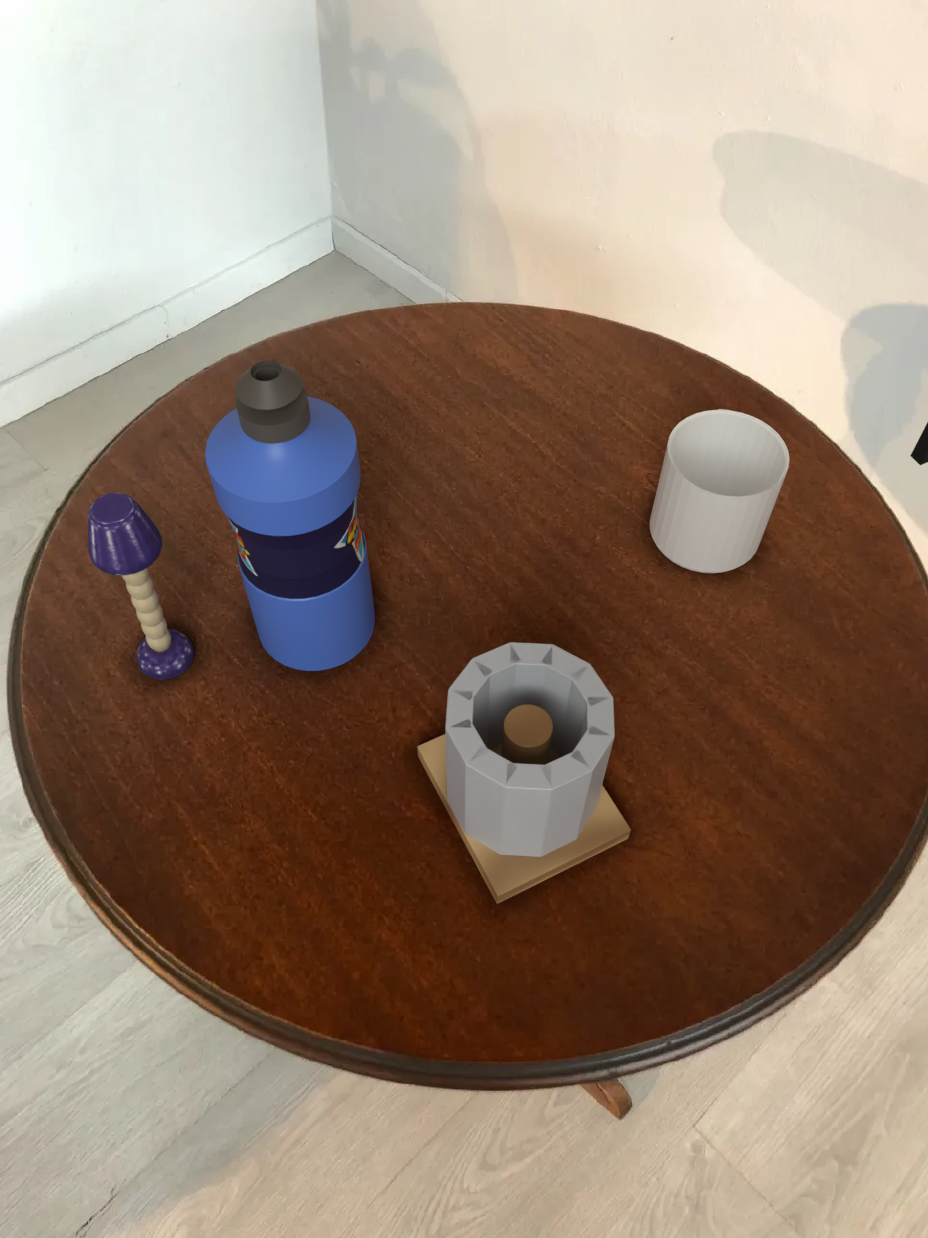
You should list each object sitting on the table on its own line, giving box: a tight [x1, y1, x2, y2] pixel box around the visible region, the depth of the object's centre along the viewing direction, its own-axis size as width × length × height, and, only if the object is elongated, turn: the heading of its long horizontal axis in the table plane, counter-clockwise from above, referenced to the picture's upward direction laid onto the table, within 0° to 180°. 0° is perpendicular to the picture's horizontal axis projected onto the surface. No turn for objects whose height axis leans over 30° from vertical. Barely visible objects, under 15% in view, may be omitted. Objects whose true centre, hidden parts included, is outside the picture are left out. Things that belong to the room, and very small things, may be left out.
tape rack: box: [416, 705, 632, 905], centre depth 66 cm, size 12×10×10 cm
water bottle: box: [204, 359, 376, 672], centre depth 68 cm, size 9×9×25 cm
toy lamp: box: [87, 492, 195, 681], centre depth 70 cm, size 5×5×17 cm
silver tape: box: [444, 641, 616, 857], centre depth 65 cm, size 10×10×10 cm
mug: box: [649, 408, 790, 574], centre depth 81 cm, size 12×9×9 cm
